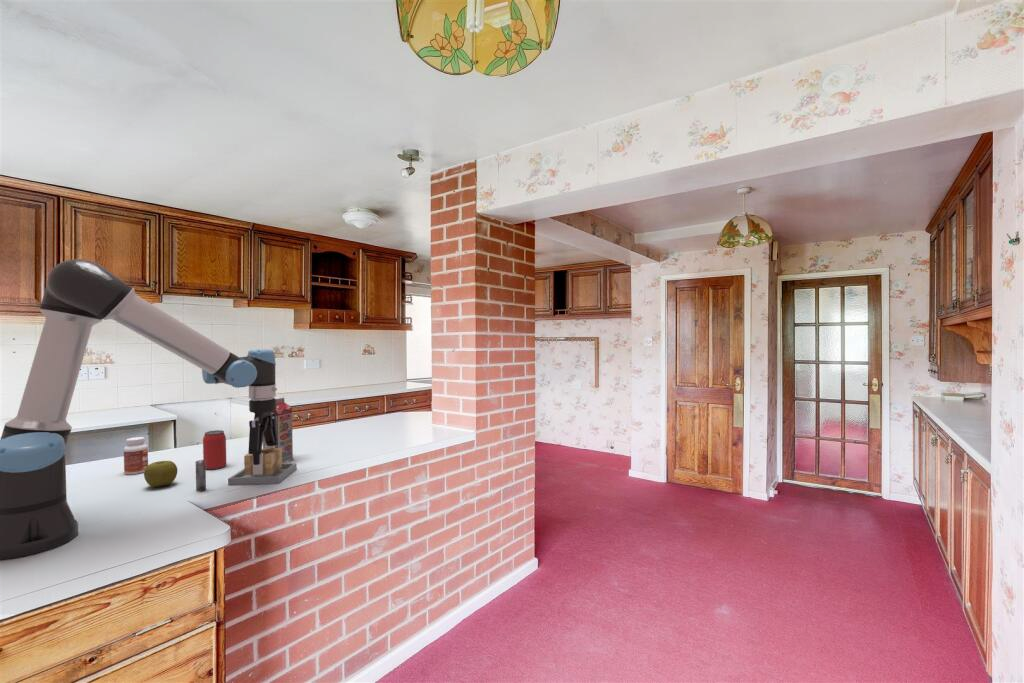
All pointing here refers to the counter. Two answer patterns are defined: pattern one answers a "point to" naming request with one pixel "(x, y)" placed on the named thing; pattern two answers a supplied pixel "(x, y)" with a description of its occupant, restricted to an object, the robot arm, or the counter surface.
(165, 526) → the counter surface
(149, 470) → the apple
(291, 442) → the juice carton
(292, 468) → the tray
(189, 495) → the counter surface
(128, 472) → the pill bottle
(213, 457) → the beer can
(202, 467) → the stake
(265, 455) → the oak ring
